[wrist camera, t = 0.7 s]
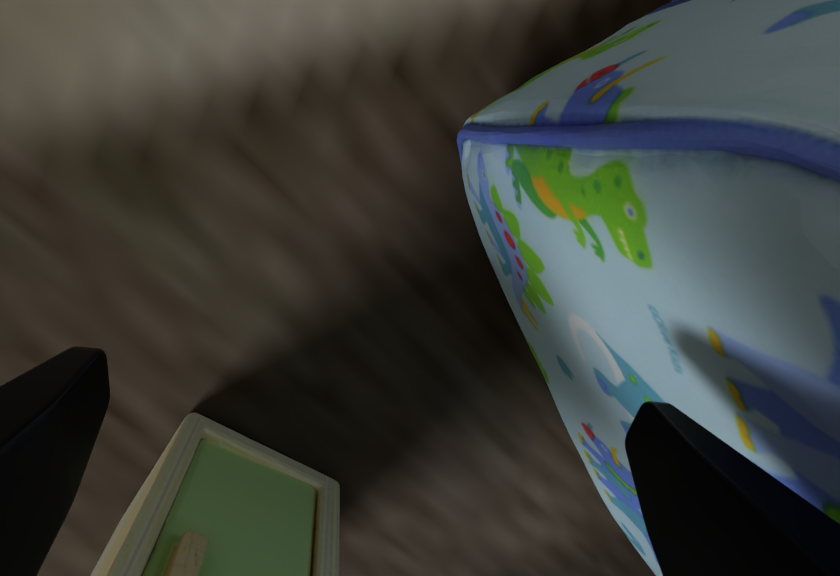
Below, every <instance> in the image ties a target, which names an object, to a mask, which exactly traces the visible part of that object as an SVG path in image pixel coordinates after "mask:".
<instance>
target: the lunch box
mask: <svg viewBox="0 0 840 576" xmlns="http://www.w3.org/2000/svg"><path fill="white" fill-rule="evenodd" d="M457 145H458V149H459V155H460V161H461V166H462V176H463V181H464V187H465V192H466V195H467V199H468V203H469V206H470V209H471V212H472V215H473V218H474V221H475V224H476V227H477V230H478V233H479V236H480V238H481V241H482V243H483V246H484V248H485V251H486V253H487V255H488V258H489V260H490V262H491V264H492V267H493V269H494V271H495V273H496V276H497V278H498V280H499V283H500V285H501V287H502V289H503V292H504V294H505V296H506V298H507V300H508V302H509V304H510V307H511V309H512V311H513V313H514V315H515V317H516V320H517V322H518V324H519V326H520V328H521V330H522V332H523V334H524V336H525V339H526V341H527V343H528V345H529V347H530V349H531V351H532V353H533V355H534V357H535V359H536V361H537V363H538V366H539V368H540V370H541V372H542V374H543V376H544V378H545V380H546V383H547V385H548V387H549V390H550V392H551V394H552V397H553V399H554V401H555V404H556V406H557V408H558V411H559V413H560V415H561V418H562V420H563V422H564V424H565V426H566V428H567V430H568V432H569V435H570V437H571V439H572V440H573V442H574V444H575V446H576V448H577V450H578V452H579V454H580V456H581V458H582V460H583V462H584V464H585V466H586V468H587V470H588V472H589V474H590V476H591V478H592V480H593V482H594V484H595V486H596V488H597V490H598V492H599V494H600V496H601V497H602V499H603V501H604V502H605V504H606V506H607V508H608V509H609V511H610V513H611V514H612V516H613V517H614V519H615V520H616V522H617V523H618V525H619V526H620V527H621V529H622V530H623V532H624V533H625V534H626V536H627V537H628V539H629V540H630V541H631V543H632V544H633V546H634V547H635V548H636V550H637V551H638V553H639V554H640V555H641V557H642V558H643V559H644V561H645V562H646V563H647V564H648V566H649V567H650V568H651V570H652V571H653V572H654V574H655V575H656V576H663V575H662V572H661V569H660V567H659V564H658V561H657V559H656V556H655V553H654V550H653V548H652V545H651V542H650V539H649V536H648V533H647V530H646V527H645V523H644V520H643V516H642V512H641V508H640V504H639V501H638V497H637V493H636V489H635V485H634V481H633V477H632V473H631V469H630V466H629V462H628V458H627V454H626V450H625V438H626V434H627V432H628V430H629V428H630V426H631V424H632V422H633V420H634V418H635V416H636V414H637V412H638V410H639V408H640V406H641V405H642V404H643V403H644V402H646V401H657V402H667V403H670V404H671V405H673V406H674V407H676V408H677V409H679V410H680V411H681V412H683V413H684V414H686V415H687V416H689V417H690V418H691V419H693V420H694V421H696V422H697V423H698V424H700V425H701V426H703V427H704V428H705V429H707V430H708V431H710V432H711V433H712V434H714V435H715V436H717V437H718V438H719V439H721V440H722V441H724V442H725V443H726V444H728V445H729V446H731V447H732V448H733V449H735V450H736V451H738V452H739V453H741V454H742V455H743V456H745V457H746V458H748V459H749V460H750V461H752V462H753V463H755V464H756V465H757V466H759V467H760V468H762V469H763V470H764V471H766V472H767V473H769V474H770V475H771V476H773V477H774V478H776V479H777V480H778V481H780V482H781V483H783V484H784V485H786V486H787V487H788V488H790V489H791V490H793V491H794V492H795V493H797V494H798V495H800V496H801V497H802V498H804V499H805V500H807V501H808V502H809V503H811V504H812V505H814V506H815V507H816V508H818V509H819V510H821V511H822V512H823V513H825V514H826V515H828V516H829V517H831V518H832V519H833V520H835V521H836V522H838V523H839V524H840V0H672V1H671V2H670V3H668V4H666V5H663V6H661V7H659V8H657V9H655V10H653V11H652V12H650V13H648V14H646V15H645V16H643V17H642V18H640V19H638V20H636V21H634V22H631V23H629V24H627V25H626V26H625V27H623V28H622V29H620V30H619V31H617V32H616V33H614V34H613V35H611V36H610V37H608V38H606V39H605V40H603V41H602V42H600V43H598V44H596V45H595V46H593V47H591V48H589V49H587V50H586V51H584V52H581V53H579V54H577V55H575V56H573V57H571V58H569V59H567V60H565V61H563V62H561V63H559V64H557V65H555V66H553V67H552V68H550V69H548V70H546V71H544V72H542V73H540V74H538V75H537V76H535V77H533V78H532V79H530V80H529V81H527V82H526V83H524V84H523V85H522V86H520V87H519V88H517V89H516V90H514V91H512V92H511V93H509V94H507V95H505V96H503V97H501V98H499V99H497V100H496V101H494V102H492V103H490V104H489V105H487V106H486V107H485V108H483V109H482V110H480V111H478V112H477V113H475V114H474V115H472V116H470V117H469V118H468V119H467V121H466V122H465V124H464V126H463V128H462V129H461V130H460V131H459V133H458V136H457Z"/></svg>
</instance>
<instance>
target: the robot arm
mask: <svg viewBox="0 0 840 576" xmlns="http://www.w3.org/2000/svg"><path fill="white" fill-rule="evenodd" d="M109 399H110V387H109V376H108V365H107V357H106V354H105V352H104V351H103V350H101V349H98V348H88V347H72V348H69V349H67V350H65V351H64V352H62V353H60V354H58V355H56V356H55V357H53V358H51V359H49V360H47V361H45V362H44V363H42V364H40V365H38V366H36V367H35V368H33V369H31V370H29V371H27V372H25V373H24V374H22V375H20V376H18V377H16V378H15V379H13V380H11V381H9V382H7V383H5V384H4V385H2V386H0V576H37V574H38V572H39V570H40V568H41V566H42V564H43V562H44V560H45V558H46V556H47V554H48V552H49V550H50V548H51V546H52V544H53V542H54V540H55V538H56V536H57V534H58V532H59V530H60V528H61V526H62V524H63V522H64V520H65V518H66V516H67V514H68V512H69V510H70V508H71V505H72V503H73V501H74V498H75V496H76V493H77V491H78V488H79V486H80V483H81V480H82V477H83V475H84V472H85V469H86V466H87V463H88V461H89V458H90V455H91V452H92V450H93V447H94V444H95V441H96V439H97V436H98V433H99V430H100V428H101V425H102V422H103V419H104V417H105V414H106V411H107V408H108V404H109ZM625 450H626V454H627V458H628V462H629V466H630V469H631V473H632V477H633V481H634V485H635V489H636V493H637V497H638V501H639V504H640V508H641V512H642V516H643V520H644V523H645V527H646V530H647V533H648V536H649V539H650V542H651V545H652V548H653V550H654V553H655V556H656V559H657V561H658V564H659V567H660V569H661V572H662V575H663V576H840V524H839V523H838V522H836V521H835V520H833V519H832V518H831V517H829V516H828V515H826V514H825V513H823V512H822V511H821V510H819V509H818V508H816V507H815V506H814V505H812V504H811V503H809V502H808V501H807V500H805V499H804V498H802V497H801V496H800V495H798V494H797V493H795V492H794V491H793V490H791V489H790V488H788V487H787V486H786V485H784V484H783V483H781V482H780V481H778V480H777V479H776V478H774V477H773V476H771V475H770V474H769V473H767V472H766V471H764V470H763V469H762V468H760V467H759V466H757V465H756V464H755V463H753V462H752V461H750V460H749V459H748V458H746V457H745V456H743V455H742V454H741V453H739V452H738V451H736V450H735V449H733V448H732V447H731V446H729V445H728V444H726V443H725V442H724V441H722V440H721V439H719V438H718V437H717V436H715V435H714V434H712V433H711V432H710V431H708V430H707V429H705V428H704V427H703V426H701V425H700V424H698V423H697V422H696V421H694V420H693V419H691V418H690V417H689V416H687V415H686V414H684V413H683V412H681V411H680V410H679V409H677V408H676V407H674V406H673V405H671V404H670V403H667V402H657V401H646V402H644V403H643V404H642V405H641V406H640V408H639V410H638V412H637V414H636V416H635V418H634V420H633V422H632V424H631V426H630V428H629V430H628V432H627V434H626V438H625Z"/></svg>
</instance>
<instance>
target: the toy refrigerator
mask: <svg viewBox="0 0 840 576" xmlns="http://www.w3.org/2000/svg"><path fill="white" fill-rule="evenodd" d="M339 524H340V486H339V483H338V482H337V481H336V480H334V479H332V478H330V477H328V476H326V475H324V474H322V473H320V472H318V471H316V470H314V469H312V468H310V467H307V466H305V465H303V464H301V463H299V462H297V461H295V460H293V459H291V458H289V457H287V456H285V455H283V454H280V453H278V452H276V451H274V450H272V449H270V448H268V447H266V446H264V445H262V444H260V443H258V442H256V441H253V440H251V439H249V438H247V437H245V436H243V435H241V434H239V433H237V432H235V431H233V430H231V429H229V428H227V427H225V426H223V425H221V424H219V423H217V422H215V421H213V420H211V419H209V418H207V417H204V416H202V415H200V414H198V413H190V414H188V415H187V416H186V417H185V419H184V420H183V422H182V423H181V425H180V426H179V428H178V430H177V431H176V433H175V434H174V436H173V437H172V439H171V441H170V442H169V444H168V445H167V447H166V449H165V450H164V452H163V453H162V455H161V457H160V458H159V460H158V461H157V463H156V465H155V466H154V468H153V469H152V471H151V472H150V474H149V476H148V477H147V479H146V480H145V482H144V484H143V485H142V487H141V488H140V490H139V492H138V493H137V495H136V496H135V498H134V499H133V501H132V503H131V504H130V506H129V507H128V509H127V511H126V512H125V514H124V515H123V517H122V519H121V520H120V522H119V524H118V526H117V528H116V529H115V531H114V533H113V535H112V537H111V539H110V541H109V542H108V544H107V546H106V548H105V550H104V552H103V554H102V556H101V557H100V559H99V561H98V563H97V565H96V567H95V569H94V570H93V572H92V574H91V576H339Z"/></svg>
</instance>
